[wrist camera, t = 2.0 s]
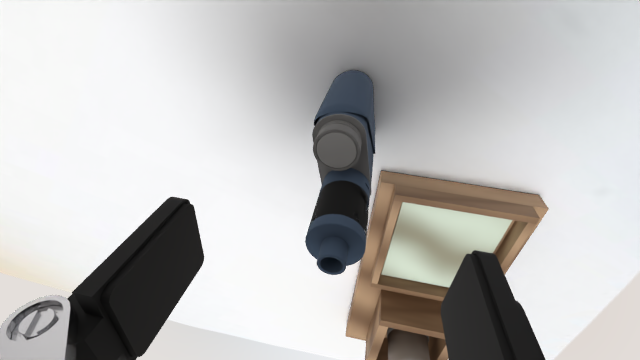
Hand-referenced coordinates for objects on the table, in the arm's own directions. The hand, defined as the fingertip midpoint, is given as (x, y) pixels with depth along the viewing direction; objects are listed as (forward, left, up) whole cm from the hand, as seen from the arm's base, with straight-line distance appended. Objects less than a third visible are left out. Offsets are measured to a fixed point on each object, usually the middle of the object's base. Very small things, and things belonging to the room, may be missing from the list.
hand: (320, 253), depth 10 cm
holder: (+14, +8, -12) cm, 20 cm away
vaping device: (-1, 0, -12) cm, 12 cm away
